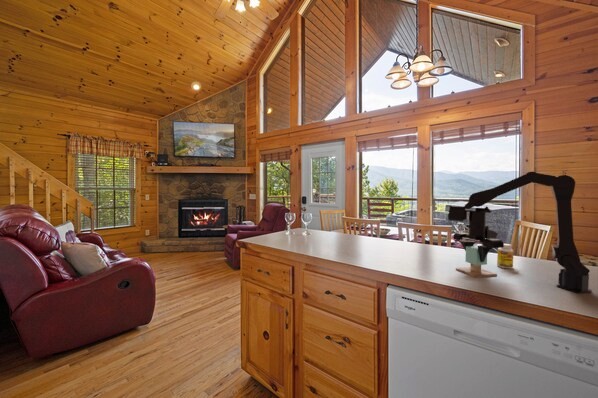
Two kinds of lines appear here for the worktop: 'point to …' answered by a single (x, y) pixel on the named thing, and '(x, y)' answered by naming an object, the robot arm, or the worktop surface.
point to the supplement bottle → (505, 256)
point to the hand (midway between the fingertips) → (476, 260)
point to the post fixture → (476, 271)
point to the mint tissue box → (474, 256)
